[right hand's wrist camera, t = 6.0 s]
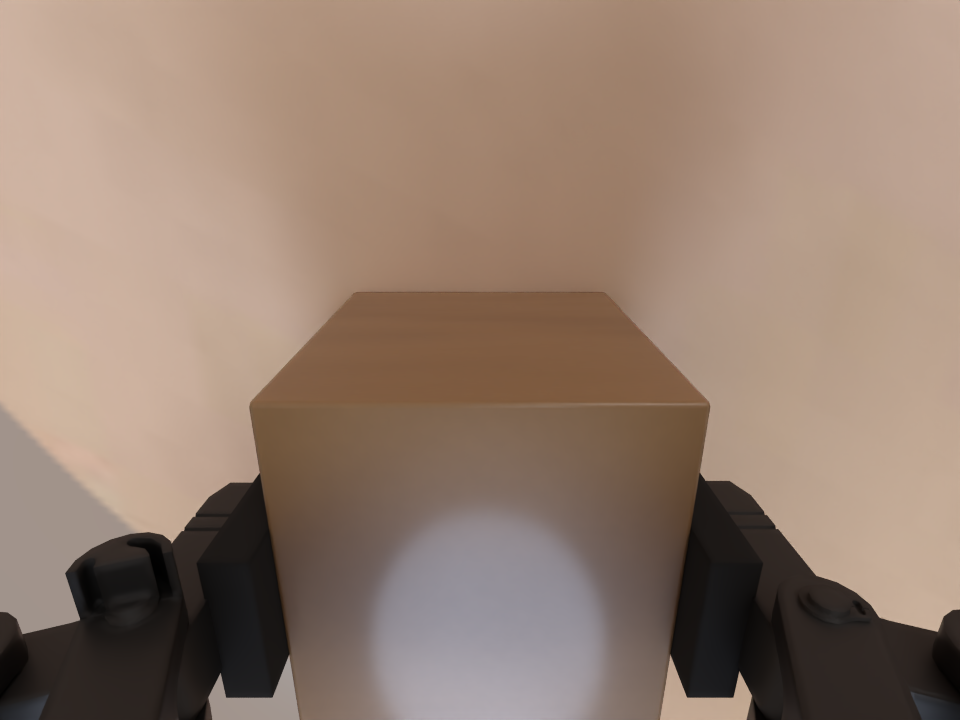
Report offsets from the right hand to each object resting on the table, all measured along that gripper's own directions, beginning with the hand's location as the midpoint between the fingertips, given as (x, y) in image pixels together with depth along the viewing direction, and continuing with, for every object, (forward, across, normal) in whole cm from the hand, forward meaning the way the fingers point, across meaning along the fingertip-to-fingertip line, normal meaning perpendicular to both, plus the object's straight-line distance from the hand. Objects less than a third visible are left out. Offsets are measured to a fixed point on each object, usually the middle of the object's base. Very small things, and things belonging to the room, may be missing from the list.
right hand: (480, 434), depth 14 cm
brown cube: (+1, 0, 0) cm, 1 cm away
